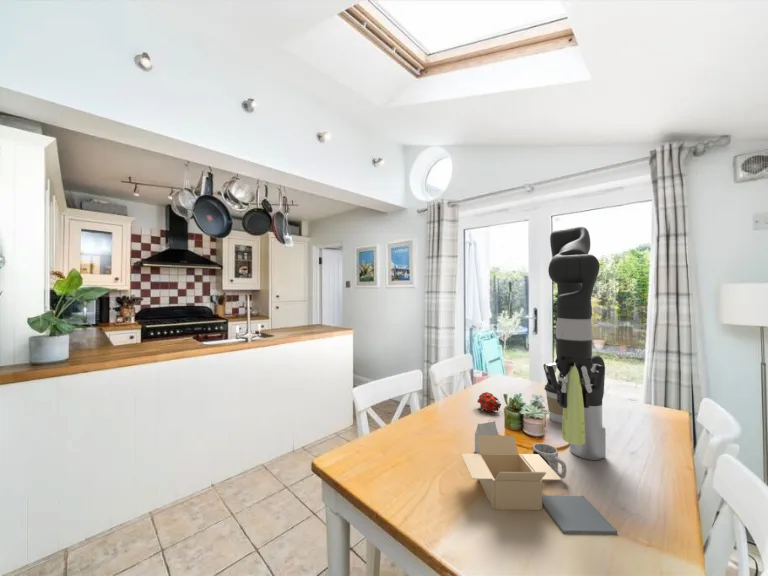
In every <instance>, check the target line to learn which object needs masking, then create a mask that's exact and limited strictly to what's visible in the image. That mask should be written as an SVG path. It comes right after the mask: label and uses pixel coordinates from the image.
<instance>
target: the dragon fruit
mask: <svg viewBox="0 0 768 576" xmlns="http://www.w3.org/2000/svg"><path fill="white" fill-rule="evenodd" d="M476 402H477V403H478V404H479V405H480V409H481V410H485V411H486V412H488V413H490V414H494V413H495V412H494V411H496V412H499V410H500V409H501V406H502V403H501V402H500V401H499V398H498V397H497V396H494V394H493V393H490V392H489V391H485V392H482V393H481V394H480V395H479V396H478V399H477V401H476Z"/></svg>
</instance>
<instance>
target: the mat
mask: <svg viewBox="0 0 768 576" xmlns="http://www.w3.org/2000/svg"><path fill="white" fill-rule="evenodd" d="M542 507H543V508H544V509H545V510H546V512H547V513H548V514H549V515H550V517H551V518H552V520H553V521H554V523H555V524H556V525H557V527H558V528H559V529H560V530H561V533H563V534H594V535H595V534H599V535H600V534H603V535H604V534H605V535H606V534H607V535H608V534H609V535H618V530H617V529H616V528H615V527H614V525H612V524H611V523H610V522H609V521H608V520H607V519H606V518H605V516H603V515H602V514H601V512H600V511H599V510H598V509H597V508H596V507H595V506H594V505H593V504H592V503H591V502H590V501H589V499H588V498H586V497H585V496H584V495H543V494H542Z"/></svg>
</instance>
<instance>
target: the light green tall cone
mask: <svg viewBox="0 0 768 576" xmlns="http://www.w3.org/2000/svg"><path fill="white" fill-rule="evenodd" d="M566 393H567V408H563V419H562V423H561V439H562V441H564V442H566V443H568V444H569V445H570V444H574V445H583V444H585V416H584V403H583V394H582V388H581V383H580V378H579V373H578V370H577V368H576V366H575V362H574V367H573V368H572V370H571V373H570V377H569V384H568V387H567V390H566Z"/></svg>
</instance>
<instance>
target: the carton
mask: <svg viewBox="0 0 768 576" xmlns="http://www.w3.org/2000/svg"><path fill="white" fill-rule="evenodd" d="M477 439H478V444H479V450H480V454H477V453H460V455H461V457H462V459H463V461H464V464H465V466H466V468H467V471H468V473H469V476H470V477H471V480H479V483H480V485H481V487H482V489H483V491H484V493H485V496H486V498H487V499H488V502H489V503H490V506H491V508H492V509H493V510H494V509H495V510H502V511H503V510H509V511H512V510H513V511H515V510H516V511H519V510H520V511H521V510H522V511H524V510H525V511H529V510H530V511H533V510H534V511H541V510H543V505H542V495H543V481H562V479H563V478H561V477H559V476H558V475H557V474H556V473H555V472H554V470H553V469H552V468H551V467H550V466H549V465H548V464H547V463H546V462H545V461H544V460H543V459H542V457H541V456H540V455H539V454H533V453H519V450H518V446H517V442H516V439H515V435H499V436H497V435H477Z"/></svg>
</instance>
